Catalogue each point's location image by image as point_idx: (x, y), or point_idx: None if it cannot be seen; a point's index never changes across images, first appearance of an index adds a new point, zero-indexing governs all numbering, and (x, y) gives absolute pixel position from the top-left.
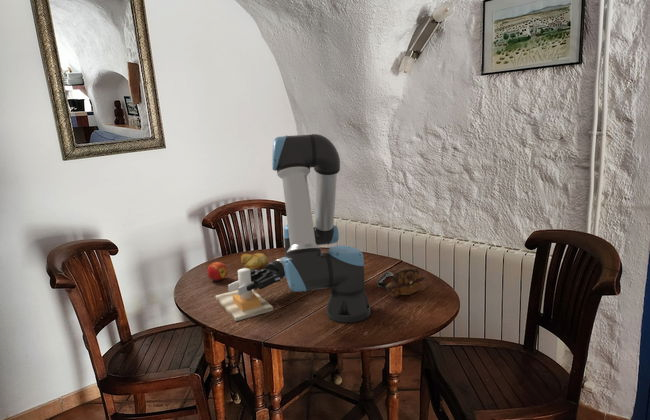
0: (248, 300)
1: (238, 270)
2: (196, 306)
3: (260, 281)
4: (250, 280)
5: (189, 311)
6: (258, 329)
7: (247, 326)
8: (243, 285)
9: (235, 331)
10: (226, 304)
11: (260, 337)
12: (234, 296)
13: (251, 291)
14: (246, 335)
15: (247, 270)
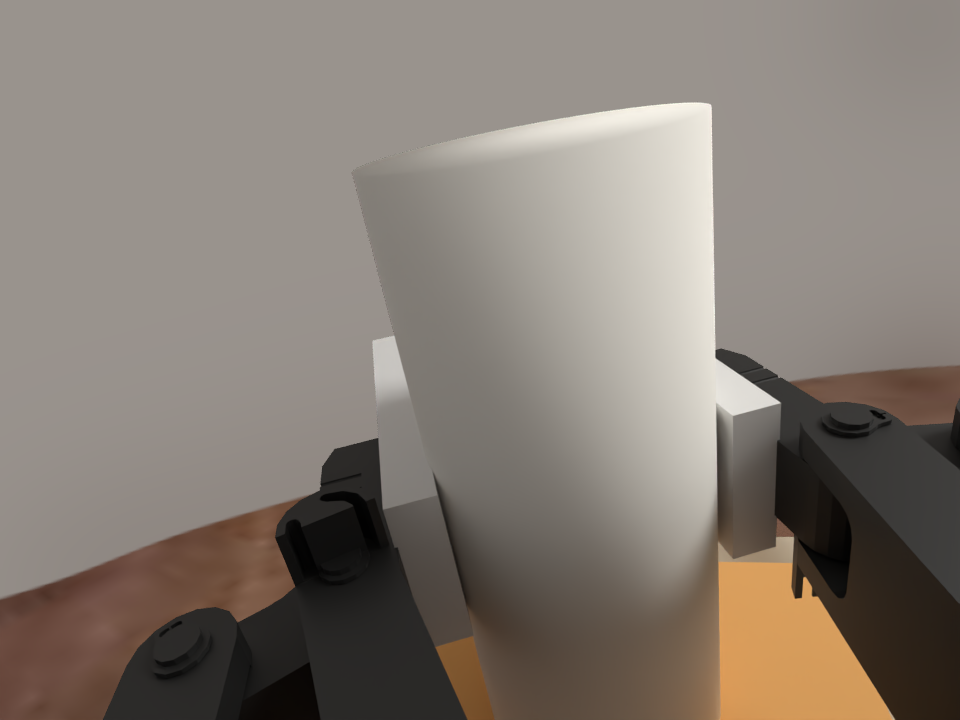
0: (473, 669)
1: (618, 110)
2: (933, 419)
3: (209, 691)
4: (437, 457)
5: (830, 384)
6: (90, 644)
7: (227, 598)
8: (399, 379)
9: (268, 515)
10: (770, 559)
11: (13, 605)
12: (769, 571)
13: (489, 668)
14: (149, 548)
15: (439, 160)
